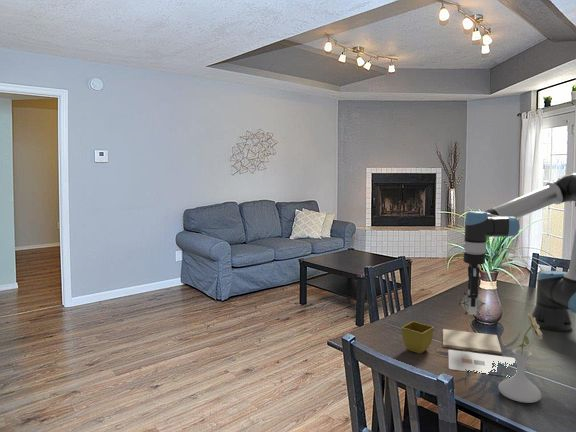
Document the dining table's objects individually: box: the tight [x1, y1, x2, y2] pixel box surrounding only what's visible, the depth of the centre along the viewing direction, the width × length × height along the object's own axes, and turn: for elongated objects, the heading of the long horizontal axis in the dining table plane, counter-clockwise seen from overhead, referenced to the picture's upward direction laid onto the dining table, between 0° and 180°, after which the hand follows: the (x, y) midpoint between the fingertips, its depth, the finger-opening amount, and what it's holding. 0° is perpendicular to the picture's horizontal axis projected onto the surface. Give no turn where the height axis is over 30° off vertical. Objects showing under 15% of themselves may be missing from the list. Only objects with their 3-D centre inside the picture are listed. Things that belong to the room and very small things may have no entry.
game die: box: [458, 292, 486, 316], centre depth 168 cm, size 9×8×10 cm
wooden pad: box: [442, 328, 502, 355], centre depth 170 cm, size 20×16×1 cm
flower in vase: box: [497, 312, 543, 404], centre depth 130 cm, size 13×11×25 cm
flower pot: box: [401, 321, 435, 354], centre depth 163 cm, size 9×9×9 cm
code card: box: [447, 349, 516, 378], centre depth 152 cm, size 22×16×1 cm
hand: (471, 310), depth 168 cm, fingers closed on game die, 9 cm apart
